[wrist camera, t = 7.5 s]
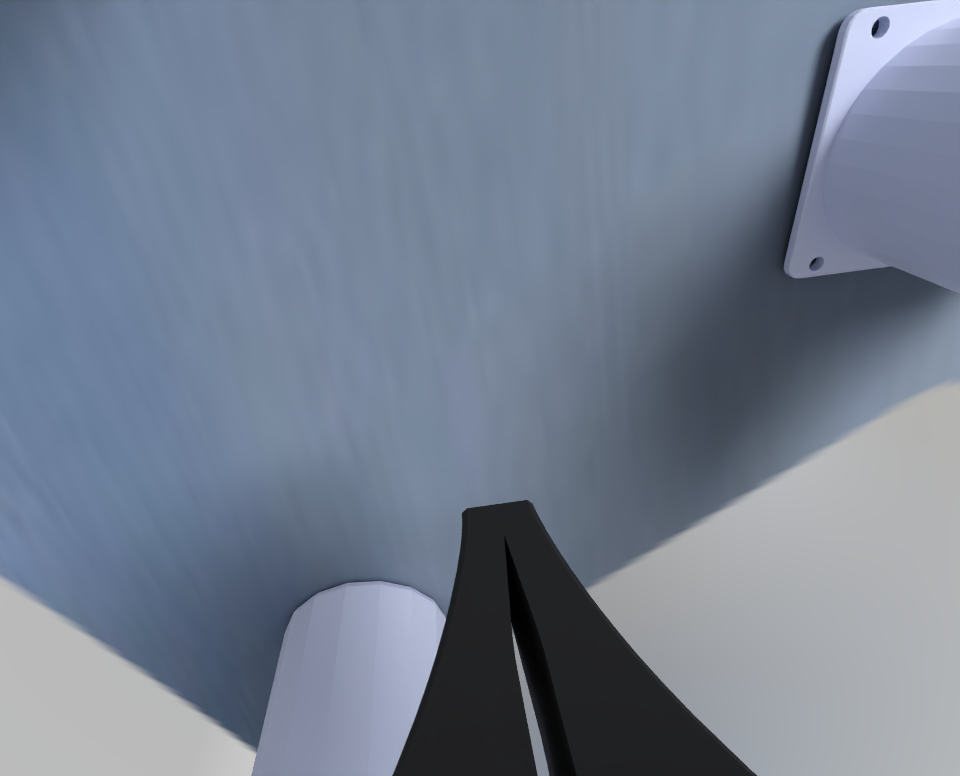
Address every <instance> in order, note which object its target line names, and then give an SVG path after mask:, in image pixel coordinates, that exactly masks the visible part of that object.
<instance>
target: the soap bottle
mask: <svg viewBox="0 0 960 776" xmlns="http://www.w3.org/2000/svg"><path fill="white" fill-rule="evenodd" d="M445 621H446V618H445V616H444V614H443V613H442V612H441V610H440V609H439V607H438V606H437V604H436V603H435V601H434V600H433V599H431V598H429V597H428V596H426V595H424V594H422V593H420V592H419V591H417V590H415V589H413V588H412V587H408V586H403V585H398V584H393V583H388V582H383V581H371V582H354V583H345V584H342V585H339V586H336V587H333V588H330V589H327V590H324V591H321V592H318V593H317V594H315V595H314V596H313V597H311V598H310V599H309V600H307V601H306V602H305V603H304V604H302V605H301V606H300V607H298V608H297V609H296V610H295V612H294V613H293V615H292V618H291V620H290V622H289V624H288V627H287V629H286V631H285V634H284V639H283V643H282V647H281V651H280V656H279V660H278V664H277V669H276V673H275V677H274V682H273V686H272V690H271V694H270V699H269V703H268V707H267V712H266V716H265V720H264V725H263V729H262V733H261V737H260V742H259V746H258V750H257V755H256V759H255V763H254V768H253V772H252V776H392V775H393V773H394V770H395V768H396V765H397V763H398V760H399V758H400V755H401V753H402V750H403V748H404V745H405V742H406V740H407V737H408V735H409V732H410V730H411V727H412V724H413V722H414V719H415V716H416V714H417V711H418V708H419V705H420V702H421V699H422V697H423V694H424V691H425V688H426V685H427V682H428V679H429V676H430V673H431V670H432V666H433V663H434V660H435V657H436V654H437V650H438V646H439V643H440V639H441V636H442V632H443V628H444V625H445Z"/></svg>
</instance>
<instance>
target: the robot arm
mask: <svg viewBox="0 0 960 776" xmlns="http://www.w3.org/2000/svg"><path fill="white" fill-rule="evenodd" d="M877 19H878V21H879V28H878V30H877V32H876V34H875V35H874V36H872V34H871V30H872V26H873V24H874V22H875V21H876V20H877ZM814 258H816V261H815V263H814V264H813V265H812V266H810V267H809V265H810V263H811V261H812V260H813V259H814ZM890 266H893V267H895V268H898V269H900V270H902V271H905V272H907V273H910V274H912V275H915V276H917V277H920V278H922V279H925V280H927V281H929V282H932V283H934V284H937V285H939V286H942V287H944V288H947V289H949V290H952V291H954V292H956V293H959V294H960V0H935V1H926V2H917V3H908V4H899V5H890V6H880V7H871V8H864V9H859V10H856V11H853V12H852V13H851V14H849V15H848V16H847V17H846V19H845V20H844V21H843V23H842V24H841V27H840V30H839V32H838V37H837V41H836V45H835V49H834V54H833V58H832V62H831V66H830V71H829V75H828V79H827V83H826V88H825V92H824V96H823V100H822V105H821V109H820V113H819V117H818V122H817V126H816V130H815V134H814V139H813V143H812V147H811V151H810V156H809V160H808V164H807V169H806V173H805V177H804V181H803V186H802V190H801V194H800V198H799V203H798V207H797V211H796V215H795V220H794V224H793V228H792V232H791V237H790V241H789V245H788V249H787V254H786V258H785V262H784V271H785V273H786V274H788V275H789V276H791V277H793V278H807V277H814V276H822V275H829V274H837V273H844V272H852V271H859V270H867V269H874V268H882V267H890ZM511 623H512V627H513V631H514V635H515V638H516V642H517V646H518V650H519V654H520V658H521V662H522V665H523V669H524V673H525V676H526V681H527V685H528V688H529V692H530V696H531V699H532V704H533V708H534V711H535V715H536V719H537V723H538V727H539V730H540V734H541V738H542V743H543V747H544V752H545V756H546V760H547V765H548V771H549V776H757V775H756V774H755V773H753V772H752V771H751V770H750V769H749V768H748V767H747V766H746V765H745V764H744V763H743V762H742V761H741V760H740V759H739V758H738V757H737V756H736V755H735V754H734V753H733V752H731V751H730V750H729V749H728V748H727V747H726V746H725V745H724V744H723V743H722V742H721V741H720V740H719V739H718V738H717V737H716V736H715V735H714V734H713V733H712V732H711V731H710V730H709V729H708V728H707V727H706V726H705V725H703V723H702V722H700V721H699V720H698V719H697V718H696V717H695V716H694V715H693V714H692V713H691V712H690V711H689V710H688V709H687V708H686V707H685V705H684V704H683V703H682V702H681V701H680V700H679V699H678V698H677V697H676V696H675V695H674V694H673V693H672V692H671V691H670V690H669V689H668V688H667V687H666V686H665V685H664V683H663V682H662V681H661V680H660V679H659V678H658V677H657V676H656V675H655V674H654V672H653V671H652V670H651V669H650V668H649V667H648V666H647V665H646V664H645V663H644V661H643V660H642V659H641V658H640V657H639V656H638V655H637V653H636V652H635V651H634V650H633V649H632V648H631V646H630V645H629V644H628V643H627V642H626V641H625V639H624V638H623V637H622V636H621V635H620V633H619V632H618V631H617V630H616V628H615V627H614V626H613V625H612V623H611V622H610V621H609V620H608V619H607V617H606V616H605V615H604V613H603V612H602V611H601V610H600V608H599V607H598V606H597V604H596V603H595V602H594V600H593V599H592V598H591V596H590V595H589V594H588V592H587V591H586V589H585V588H584V587H583V585H582V584H581V582H580V581H579V580H578V578H577V577H576V575H575V574H574V573H573V571H572V570H571V568H570V567H569V565H568V564H567V562H566V561H565V560H564V558H563V557H562V555H561V553H560V552H559V550H558V549H557V547H556V545H555V544H554V542H553V541H552V539H551V537H550V536H549V534H548V532H547V531H546V529H545V527H544V525H543V524H542V522H541V520H540V518H539V516H538V514H537V512H536V510H535V508H534V506H533V504H532V503H531V502H529V501H528V500H524V501H517V502H510V503H502V504H495V505H488V506H481V507H474V508H467V509H466V510H465V511H464V512H463V513H462V539H461V548H460V555H459V561H458V568H457V573H456V578H455V582H454V587H453V592H452V596H451V601H450V606H449V610H448V614H447V618H446V621H445V625H444V628H443V632H442V636H441V639H440V643H439V646H438V650H437V654H436V657H435V660H434V663H433V666H432V670H431V673H430V676H429V679H428V682H427V685H426V688H425V691H424V694H423V697H422V699H421V702H420V705H419V708H418V711H417V714H416V716H415V719H414V722H413V724H412V727H411V730H410V732H409V735H408V737H407V740H406V742H405V745H404V748H403V750H402V753H401V755H400V758H399V760H398V763H397V765H396V768H395V770H394V773H393V775H392V776H537V771H536V765H535V760H534V755H533V750H532V745H531V739H530V734H529V729H528V724H527V719H526V713H525V709H524V703H523V698H522V692H521V687H520V681H519V676H518V671H517V665H516V660H515V653H514V645H513V637H512V627H511Z"/></svg>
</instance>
